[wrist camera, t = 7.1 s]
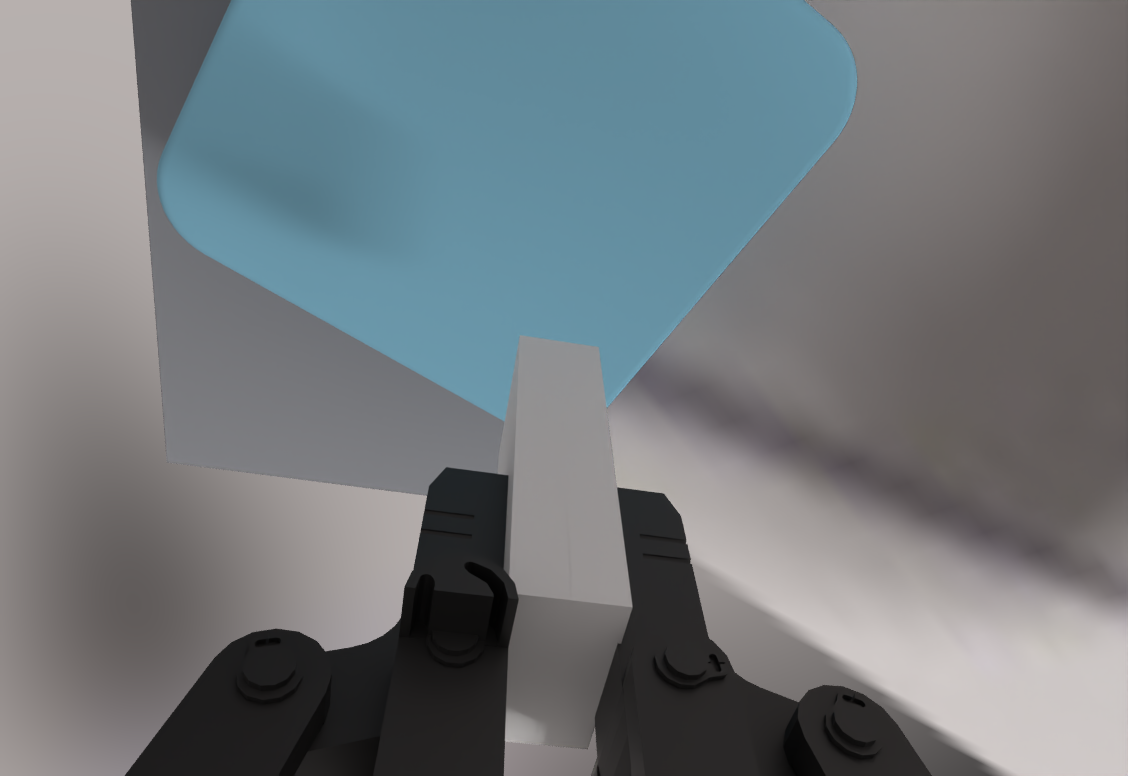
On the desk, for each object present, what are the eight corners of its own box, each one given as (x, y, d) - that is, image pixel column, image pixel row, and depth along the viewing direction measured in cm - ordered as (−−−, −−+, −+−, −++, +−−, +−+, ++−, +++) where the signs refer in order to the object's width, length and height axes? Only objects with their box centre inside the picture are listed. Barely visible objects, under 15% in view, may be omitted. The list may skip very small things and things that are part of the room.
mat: (740, -150, 19) (743, -151, 19) (577, 507, 29) (578, 514, 29) (116, -291, 18) (107, -295, 17) (171, 455, 28) (167, 462, 27)
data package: (830, 43, 21) (423, -304, 17) (894, 77, 17) (389, -361, 14) (562, 376, 26) (200, 161, 22) (566, 460, 22) (129, 217, 18)
